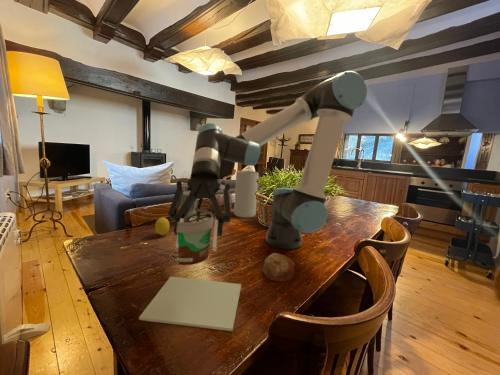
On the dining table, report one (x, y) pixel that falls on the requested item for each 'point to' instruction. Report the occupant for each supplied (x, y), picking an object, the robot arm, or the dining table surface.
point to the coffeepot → (192, 209)
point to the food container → (195, 237)
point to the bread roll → (279, 267)
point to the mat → (195, 304)
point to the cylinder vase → (245, 194)
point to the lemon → (162, 226)
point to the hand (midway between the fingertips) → (196, 248)
